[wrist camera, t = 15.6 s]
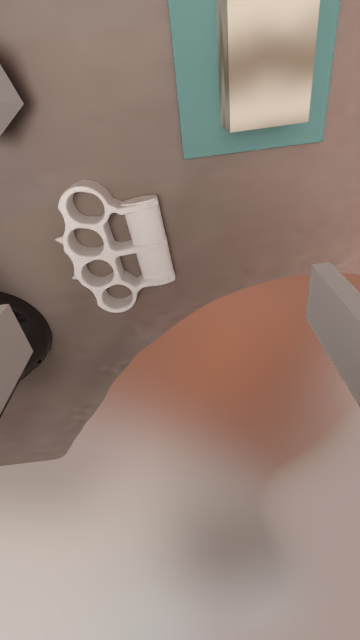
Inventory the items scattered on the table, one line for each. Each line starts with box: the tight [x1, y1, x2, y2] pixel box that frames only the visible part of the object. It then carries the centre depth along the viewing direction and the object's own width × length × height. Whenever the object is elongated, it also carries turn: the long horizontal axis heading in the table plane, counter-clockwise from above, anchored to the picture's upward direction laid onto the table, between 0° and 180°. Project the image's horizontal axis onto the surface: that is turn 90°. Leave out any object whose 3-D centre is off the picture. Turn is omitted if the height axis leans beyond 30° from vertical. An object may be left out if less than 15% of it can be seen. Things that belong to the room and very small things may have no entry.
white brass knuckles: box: [54, 180, 175, 313], centre depth 44 cm, size 3×18×15 cm
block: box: [216, 0, 320, 133], centre depth 30 cm, size 10×7×8 cm
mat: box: [168, 0, 340, 159], centre depth 33 cm, size 16×16×1 cm
